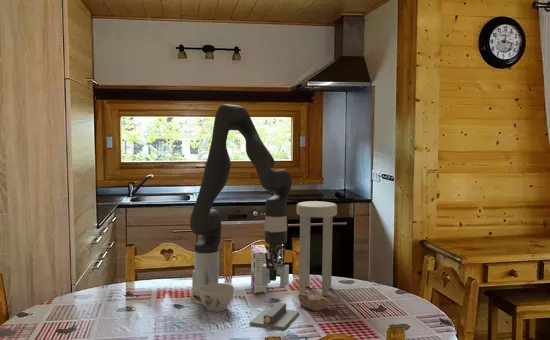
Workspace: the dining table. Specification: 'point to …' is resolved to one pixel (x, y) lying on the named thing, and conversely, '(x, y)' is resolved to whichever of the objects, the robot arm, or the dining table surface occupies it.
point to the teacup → (215, 296)
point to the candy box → (257, 268)
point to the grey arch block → (280, 270)
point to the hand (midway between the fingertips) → (275, 278)
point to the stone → (313, 301)
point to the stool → (306, 212)
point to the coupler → (275, 317)
